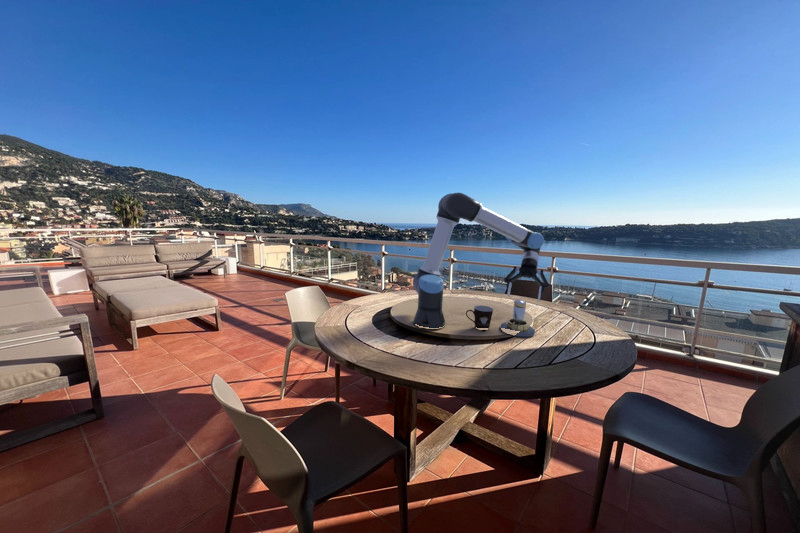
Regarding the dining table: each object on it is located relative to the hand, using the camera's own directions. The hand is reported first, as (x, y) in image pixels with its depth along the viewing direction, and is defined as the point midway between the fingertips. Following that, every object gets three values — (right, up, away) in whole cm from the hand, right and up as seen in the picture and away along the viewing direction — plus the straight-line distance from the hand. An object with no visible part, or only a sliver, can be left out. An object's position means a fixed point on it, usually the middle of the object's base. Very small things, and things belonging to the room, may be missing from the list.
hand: (523, 297), depth 139 cm
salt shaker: (-4, -14, -3) cm, 15 cm away
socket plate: (-4, -16, -2) cm, 16 cm away
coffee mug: (-21, -15, 0) cm, 26 cm away
